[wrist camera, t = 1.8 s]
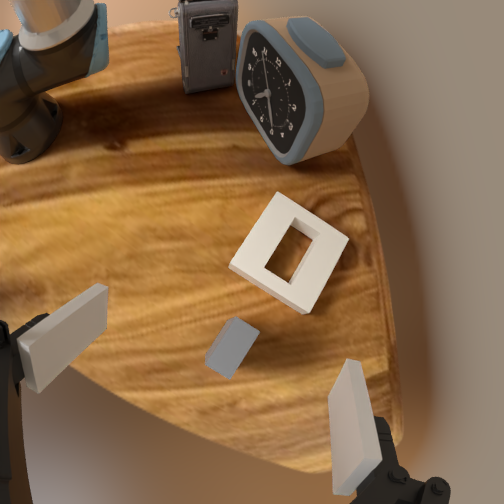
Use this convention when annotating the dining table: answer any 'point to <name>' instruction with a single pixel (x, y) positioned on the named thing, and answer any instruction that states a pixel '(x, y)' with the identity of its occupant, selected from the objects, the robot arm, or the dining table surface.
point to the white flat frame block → (311, 266)
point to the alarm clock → (299, 87)
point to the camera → (207, 43)
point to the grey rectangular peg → (230, 347)
